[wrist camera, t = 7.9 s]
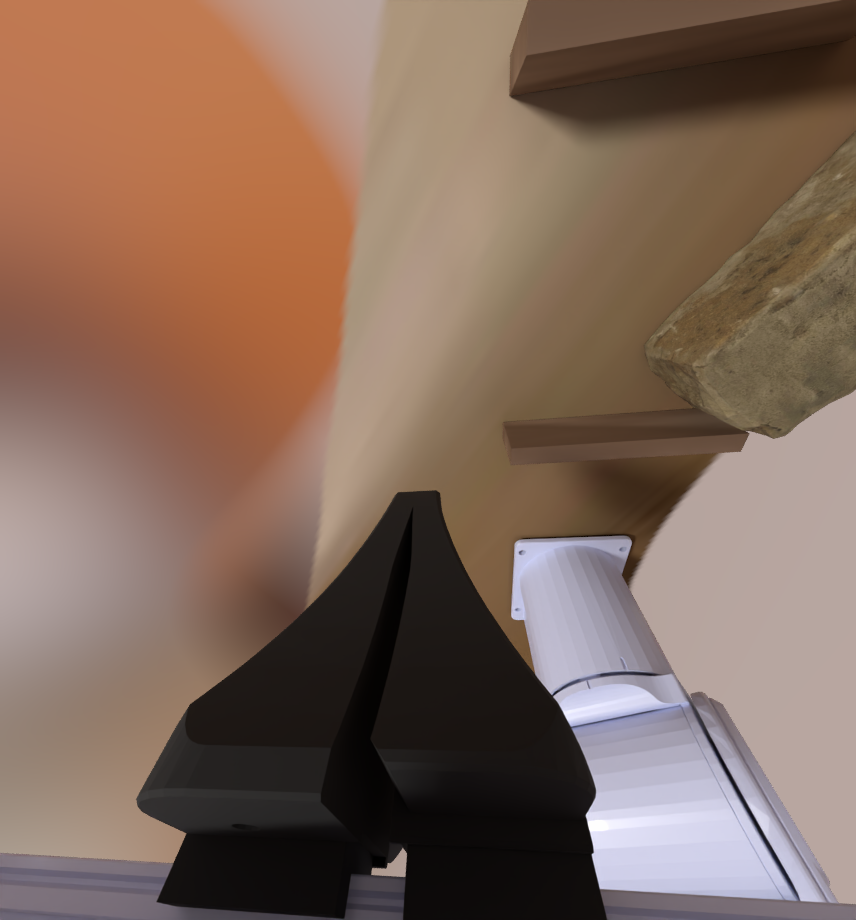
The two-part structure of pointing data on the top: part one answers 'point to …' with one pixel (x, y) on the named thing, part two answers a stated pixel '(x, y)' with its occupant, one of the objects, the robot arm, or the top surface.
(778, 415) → the stone block
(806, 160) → the top surface
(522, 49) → the chute
